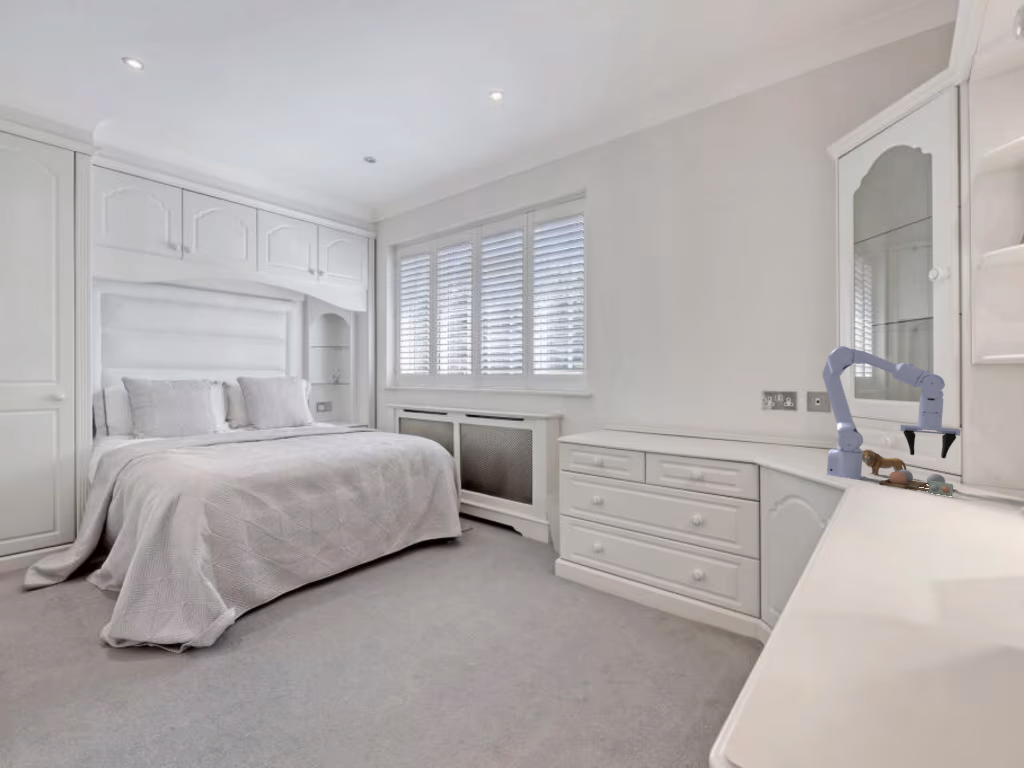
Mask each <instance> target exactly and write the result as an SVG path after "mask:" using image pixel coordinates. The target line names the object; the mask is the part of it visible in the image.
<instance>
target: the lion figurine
mask: <svg viewBox="0 0 1024 768" xmlns="http://www.w3.org/2000/svg"><path fill="white" fill-rule="evenodd" d="M862 463H865V465H866V466H867V467H869V468H871V472H869V474H870V475H873V476H879V470H880V469H886V470H887V469H891V468H893V472H895V471H899V470H902V469H904V470H908V469H907V466H906V464H905V462H904V461H903V460H902V459H900V458H898V457H893V458H892V457H891V458H887V457H883V456H881V455H880V454H879V453H877V452H875V451H873V450H872V449H867V448H866V449H865V450H862Z"/></svg>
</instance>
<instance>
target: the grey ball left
mask: <svg viewBox="0 0 1024 768" xmlns="http://www.w3.org/2000/svg"><path fill="white" fill-rule="evenodd" d="M899 472H902V473H903V474H905V476H906V478H907V481H906V482H907V483H909V482H911V481H912V480H913V478H914V475H913V473H912V472H911V471H909V470H908V469H907V470H904V468H903V469H902V470H899Z"/></svg>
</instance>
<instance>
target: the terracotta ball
mask: <svg viewBox="0 0 1024 768" xmlns="http://www.w3.org/2000/svg"><path fill="white" fill-rule="evenodd" d="M888 479H889V480H890V482H891V483H893V484H899V485H903V484H905V483H906V481H907V478H906V476H905V474H903V473H902V472H899V471H892V472H891V473H890V474H889V475H888Z"/></svg>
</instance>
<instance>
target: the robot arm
mask: <svg viewBox="0 0 1024 768" xmlns="http://www.w3.org/2000/svg"><path fill="white" fill-rule="evenodd" d="M853 364H856V365H862V364H863V365H864V364H865V365H869V366H872V367H875V368H877V369H880V370H883V371H885V372H888V373H891V376H892V377H893V380H897V381H899V382H901V383H905V384H907V385H909V386H911V387H913V388H918V387H920V389H921V391H920V392H921V393H920V397H919V401H918V402H919V406H918V417H917V419H918V421H917V425H911V424H909V425H908V424H900V425H899V431H900V432H903V435H904V437H905V439H906V442H907V444H908V447H909V455H911V456H914V455H915V443H916V442H915V441H916V433H922V434H925V433H926V434H935V435H936V434H937V435H938V434H939V435H942V436H941V437H942V442H941V443H942V446H941V452H940V453H941V455H940V456H941V457H940V458H942V459H947V454H948V451H949V450H950V448H951V447H952V445H953V443H954V442H955V441H956V439H957V436H958V437H959V436H961V431H962V430H961V428H953V427H952V428H951V427H943V412H944V411H943V410H944V398H943V397H944V391H943V389H945V386H946V384H945V381H944V379H943V377H941V376H940V375H938V374H935V373H934V374H933V373H932V374H931V370H929V369H927V370H924V369H922V368H919V367H916V366H914V364H913V363H911V362H908V363H906V362H901V363H898V364H896V363H894V362H891V361H889V360H887V359H884V358H881V357H879V356H876V355H874V354H872V353H869V352H867V351H863V350H859V349H856V348H850V347H847V346H845V345H843V346H842V345H841V346H837V347H835V348H834V349H832V351H831V352H830V353H829V354H828V355H827V359H826V362H825V365H824V368H823V370H822V373H821V374H822V378H823V381H824V385H825V388H826V392H827V396H828V398H829V402H830V405H831V409H832V412H833V415H834V418H835V422H836V431H837V434H838V435H837V439H836V443H837V444H838V447H836V449H835V448H831V449H829V451H828V454H827V465H826V467H827V468H826V473H825V475H827V476H832V477H839V478H846V479H852V480H862V479H865V478H866V475H862V468H863V466H862V465H863V461H862V451H863V449H861V448H860V447H861V446H862V445H863V443H864V438H863V434H861V433H860V432H859V431H858V428H857V425H856V424H855V421H854V420H853V417H852V414H851V413H852V412H851V409H850V406H849V404H848V399H847V396H846V393H845V390H844V387H843V384H842V380H841V375H843V373H844V371H846V369H848V368H849V367H850V366H852V365H853Z"/></svg>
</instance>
